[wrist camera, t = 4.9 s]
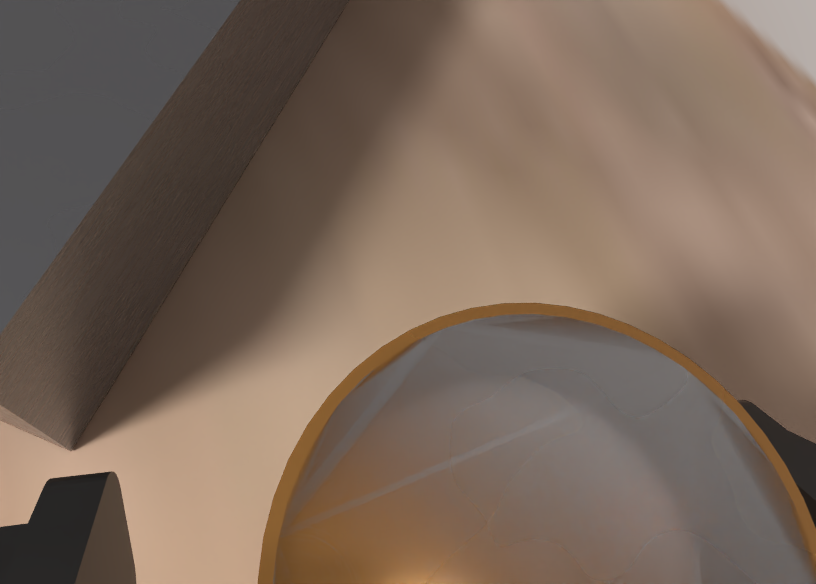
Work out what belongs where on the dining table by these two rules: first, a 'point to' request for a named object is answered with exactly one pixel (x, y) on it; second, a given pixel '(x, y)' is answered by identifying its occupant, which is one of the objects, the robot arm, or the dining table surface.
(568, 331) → the pin
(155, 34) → the block
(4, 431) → the dining table surface
